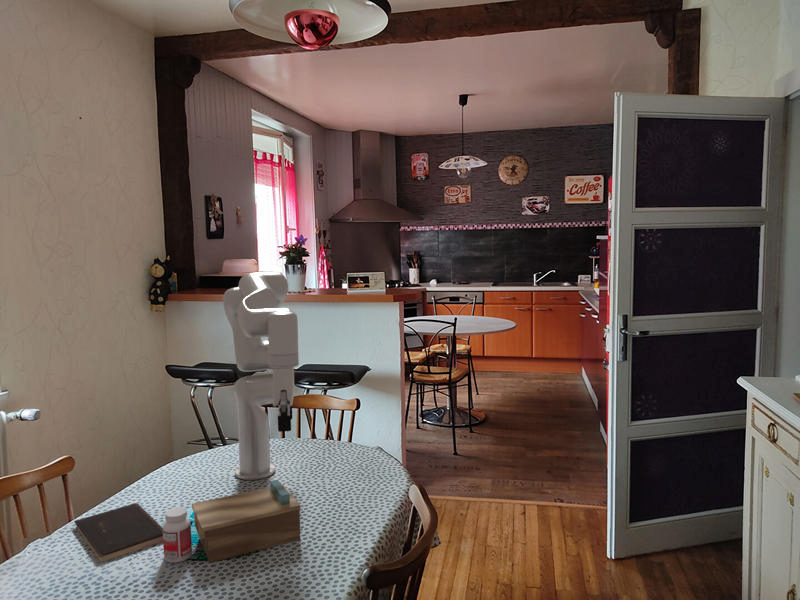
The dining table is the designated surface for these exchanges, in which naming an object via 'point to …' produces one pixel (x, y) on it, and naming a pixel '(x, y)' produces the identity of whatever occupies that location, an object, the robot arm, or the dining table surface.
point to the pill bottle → (177, 535)
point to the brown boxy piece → (251, 536)
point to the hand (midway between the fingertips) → (285, 425)
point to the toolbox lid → (243, 507)
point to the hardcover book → (120, 531)
